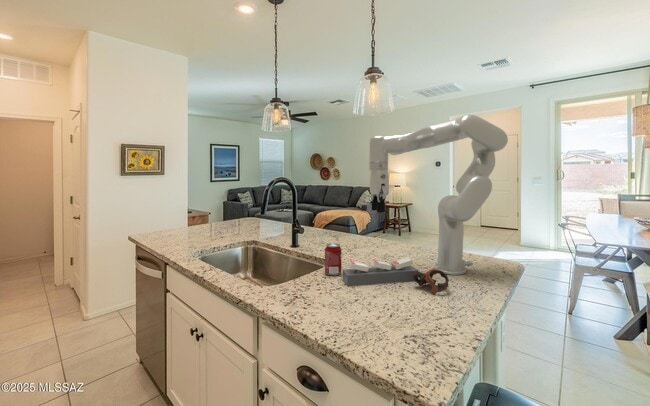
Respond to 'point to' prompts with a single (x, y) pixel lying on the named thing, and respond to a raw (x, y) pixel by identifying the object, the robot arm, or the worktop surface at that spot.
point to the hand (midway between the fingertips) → (377, 210)
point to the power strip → (378, 275)
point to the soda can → (333, 259)
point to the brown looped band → (431, 280)
